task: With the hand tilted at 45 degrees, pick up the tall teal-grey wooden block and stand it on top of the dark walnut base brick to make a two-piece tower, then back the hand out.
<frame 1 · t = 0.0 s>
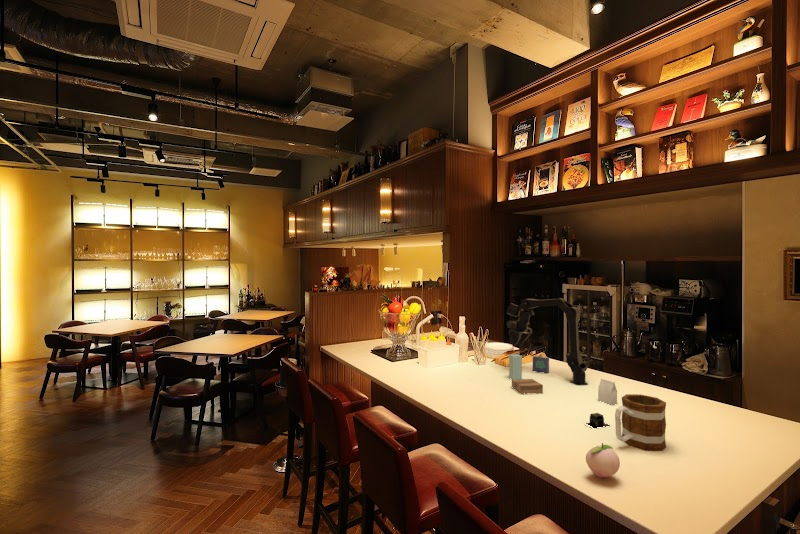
hand: (517, 345, 238), 15 cm above the worktop, tool pointing down, fingers open, 9 cm apart
flask: (540, 372, 237), on the worktop
black flanged block: (596, 426, 159), on the worktop
base brick: (526, 390, 202), on the worktop
paper bag: (607, 403, 185), on the worktop
decorative fruit: (603, 478, 119), on the worktop
tall block: (515, 379, 222), on the worktop
mug: (637, 444, 141), on the worktop
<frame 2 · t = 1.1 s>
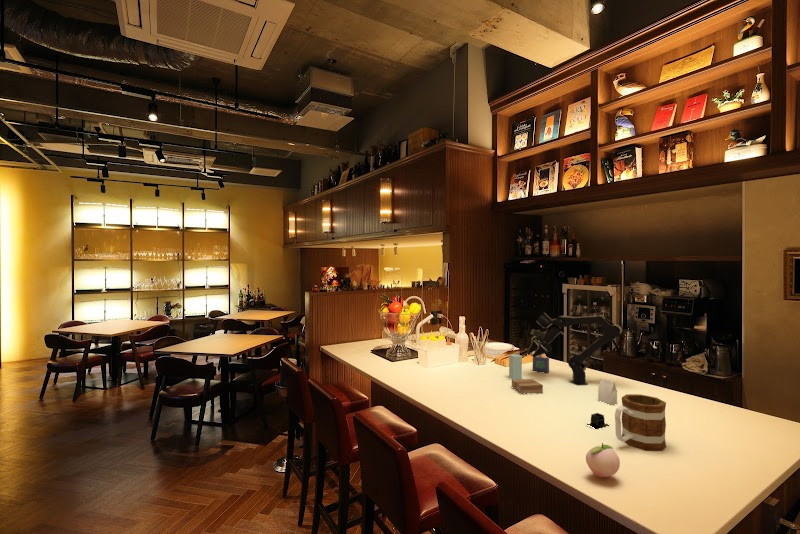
hand: (530, 354, 222), 13 cm above the worktop, tool tilted 45°, fingers open, 9 cm apart
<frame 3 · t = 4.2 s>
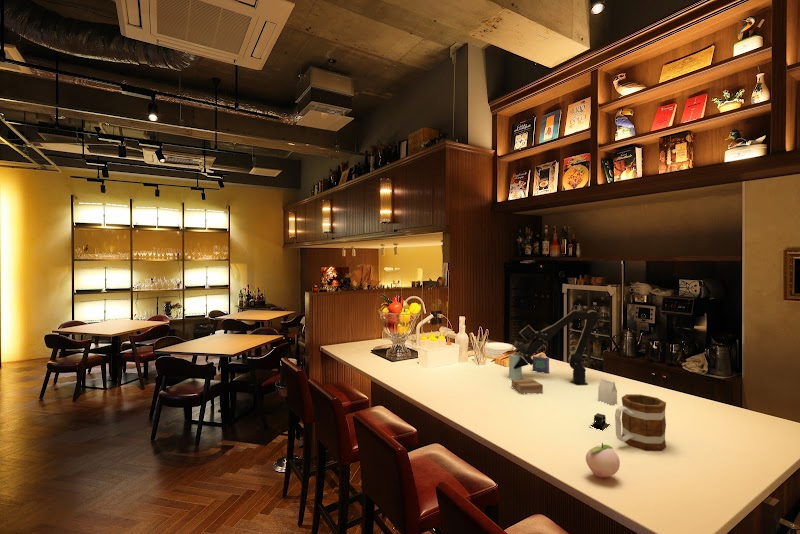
hand: (512, 367, 222), 7 cm above the worktop, tool tilted 45°, fingers closed on tall block, 5 cm apart
tall block: (515, 379, 222), on the worktop, touching gripper
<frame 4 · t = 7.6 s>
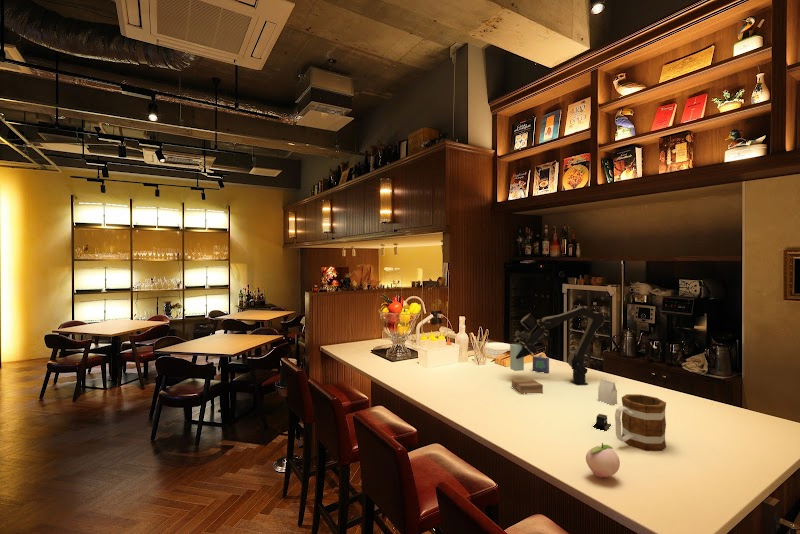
hand: (514, 357, 216), 13 cm above the worktop, tool tilted 45°, fingers closed on tall block, 5 cm apart
tall block: (517, 369, 216), point 7 cm above the worktop, touching gripper
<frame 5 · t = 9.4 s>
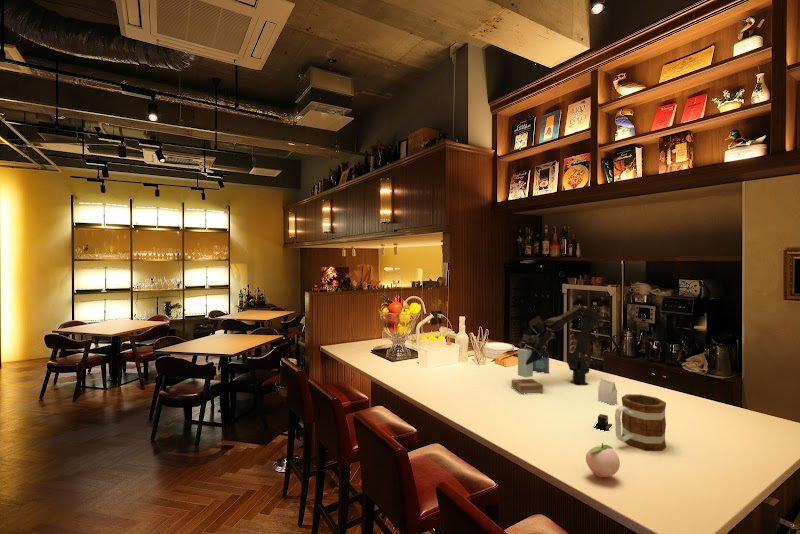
hand: (522, 362, 203), 13 cm above the worktop, tool tilted 45°, fingers closed on tall block, 5 cm apart
tall block: (525, 375, 204), point 7 cm above the worktop, touching gripper
when the fingers open (11 cm above the worktop, at t = 10.7 s): tall block stays where it is, resting on base brick.
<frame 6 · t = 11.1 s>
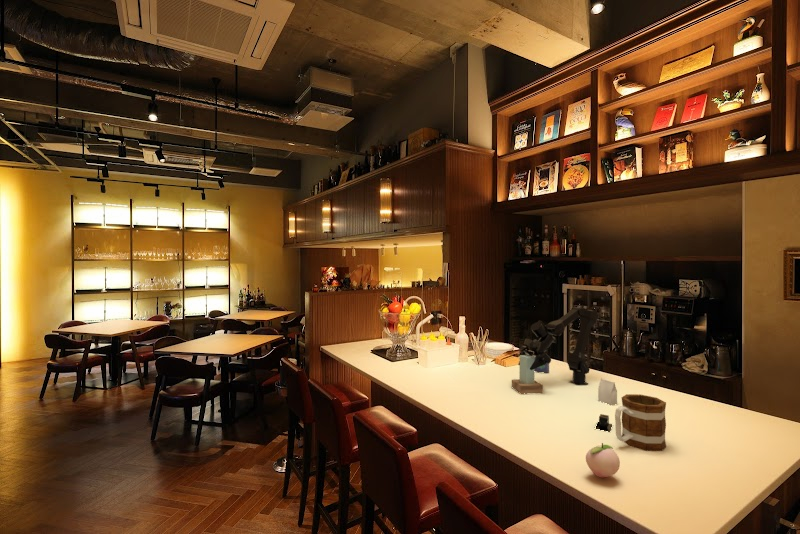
hand: (524, 367, 202), 12 cm above the worktop, tool tilted 45°, fingers open, 9 cm apart
tall block: (526, 382, 202), point 4 cm above the worktop, touching base brick
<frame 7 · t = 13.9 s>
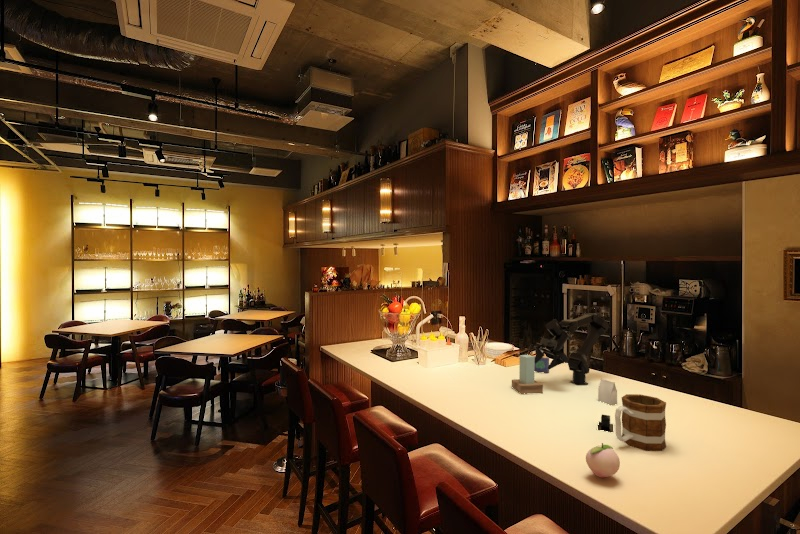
hand: (541, 365, 205), 11 cm above the worktop, tool tilted 40°, fingers open, 9 cm apart
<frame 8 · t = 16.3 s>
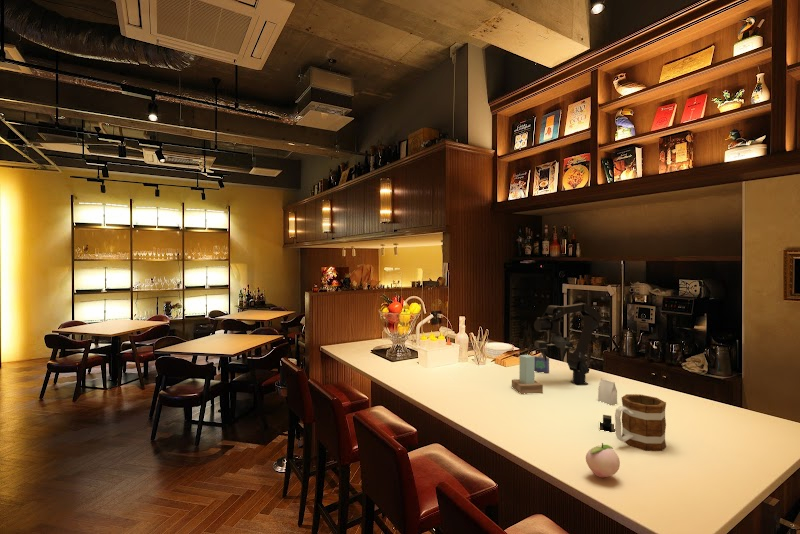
hand: (553, 360, 210), 13 cm above the worktop, tool pointing down, fingers open, 9 cm apart
at the end: tall block inside the target area on the base brick (0.1 cm from its centre), point 4.0 cm above the base brick's base; tall block tilted 0°; the gripper is holding nothing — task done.
